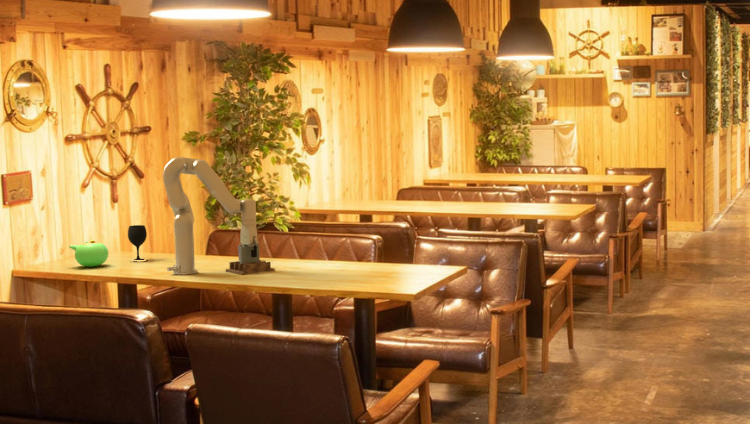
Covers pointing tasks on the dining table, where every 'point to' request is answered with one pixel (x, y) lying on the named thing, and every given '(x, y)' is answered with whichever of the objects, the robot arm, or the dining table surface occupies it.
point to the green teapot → (90, 253)
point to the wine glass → (137, 237)
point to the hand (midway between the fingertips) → (249, 256)
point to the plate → (247, 255)
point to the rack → (249, 267)
